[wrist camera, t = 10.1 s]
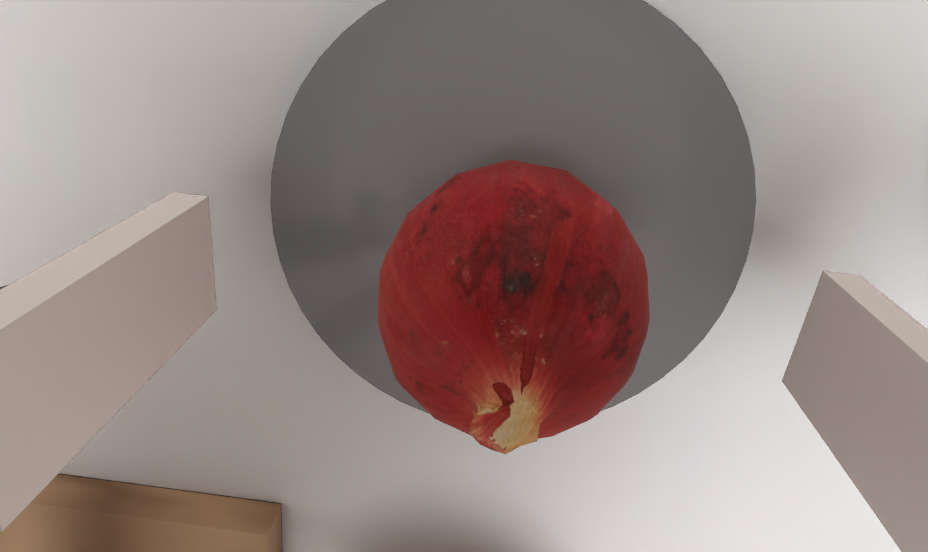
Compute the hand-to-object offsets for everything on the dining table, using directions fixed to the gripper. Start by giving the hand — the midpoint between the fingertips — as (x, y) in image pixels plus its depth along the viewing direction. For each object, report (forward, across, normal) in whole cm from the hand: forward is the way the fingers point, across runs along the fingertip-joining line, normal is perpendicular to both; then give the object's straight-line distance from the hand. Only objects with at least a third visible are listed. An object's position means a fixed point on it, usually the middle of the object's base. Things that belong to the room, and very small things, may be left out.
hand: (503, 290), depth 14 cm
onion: (+4, 0, 0) cm, 4 cm away
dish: (+5, 0, 0) cm, 5 cm away
